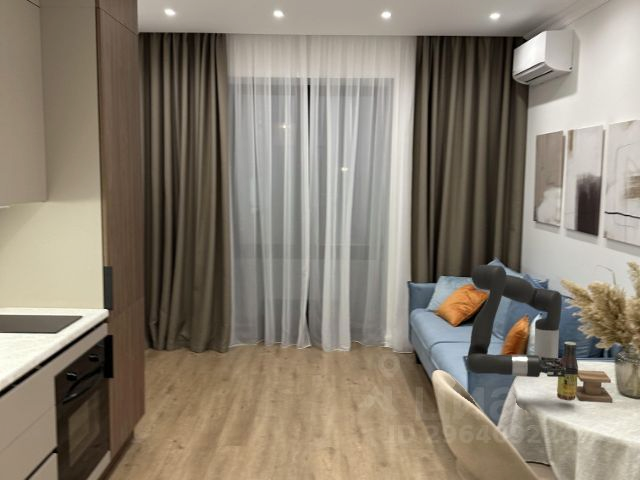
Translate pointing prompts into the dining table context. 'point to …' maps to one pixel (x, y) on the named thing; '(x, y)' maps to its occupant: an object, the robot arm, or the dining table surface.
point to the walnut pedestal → (593, 386)
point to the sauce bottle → (569, 382)
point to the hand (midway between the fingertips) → (575, 367)
